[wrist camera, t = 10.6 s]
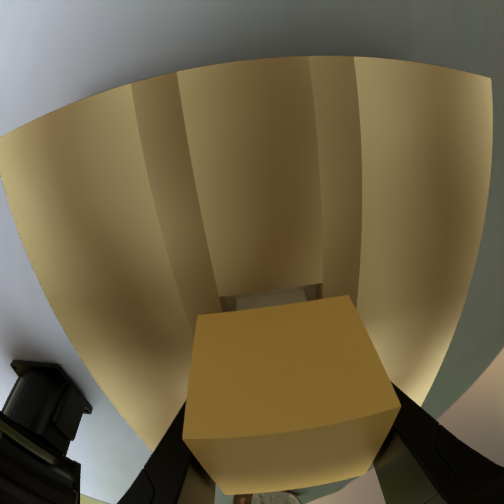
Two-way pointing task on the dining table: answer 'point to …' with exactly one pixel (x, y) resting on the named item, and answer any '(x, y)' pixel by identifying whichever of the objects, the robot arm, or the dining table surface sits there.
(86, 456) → the dining table surface
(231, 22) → the dining table surface
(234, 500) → the tin
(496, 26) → the dining table surface
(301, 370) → the mustard yellow block
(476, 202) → the keyhole board
